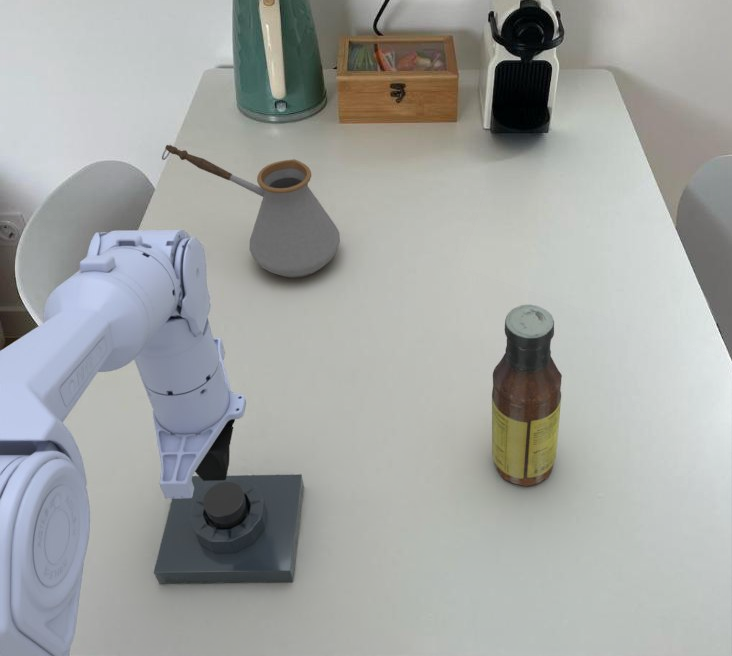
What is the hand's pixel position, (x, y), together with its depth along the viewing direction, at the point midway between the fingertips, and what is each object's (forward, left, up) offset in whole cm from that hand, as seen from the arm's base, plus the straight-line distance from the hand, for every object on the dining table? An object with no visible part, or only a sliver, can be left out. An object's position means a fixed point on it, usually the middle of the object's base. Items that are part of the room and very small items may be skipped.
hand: (215, 473), depth 69 cm
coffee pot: (+34, +23, -10) cm, 42 cm away
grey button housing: (0, 0, -9) cm, 9 cm away
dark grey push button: (0, 0, -6) cm, 6 cm away
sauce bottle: (+20, -20, -10) cm, 30 cm away
